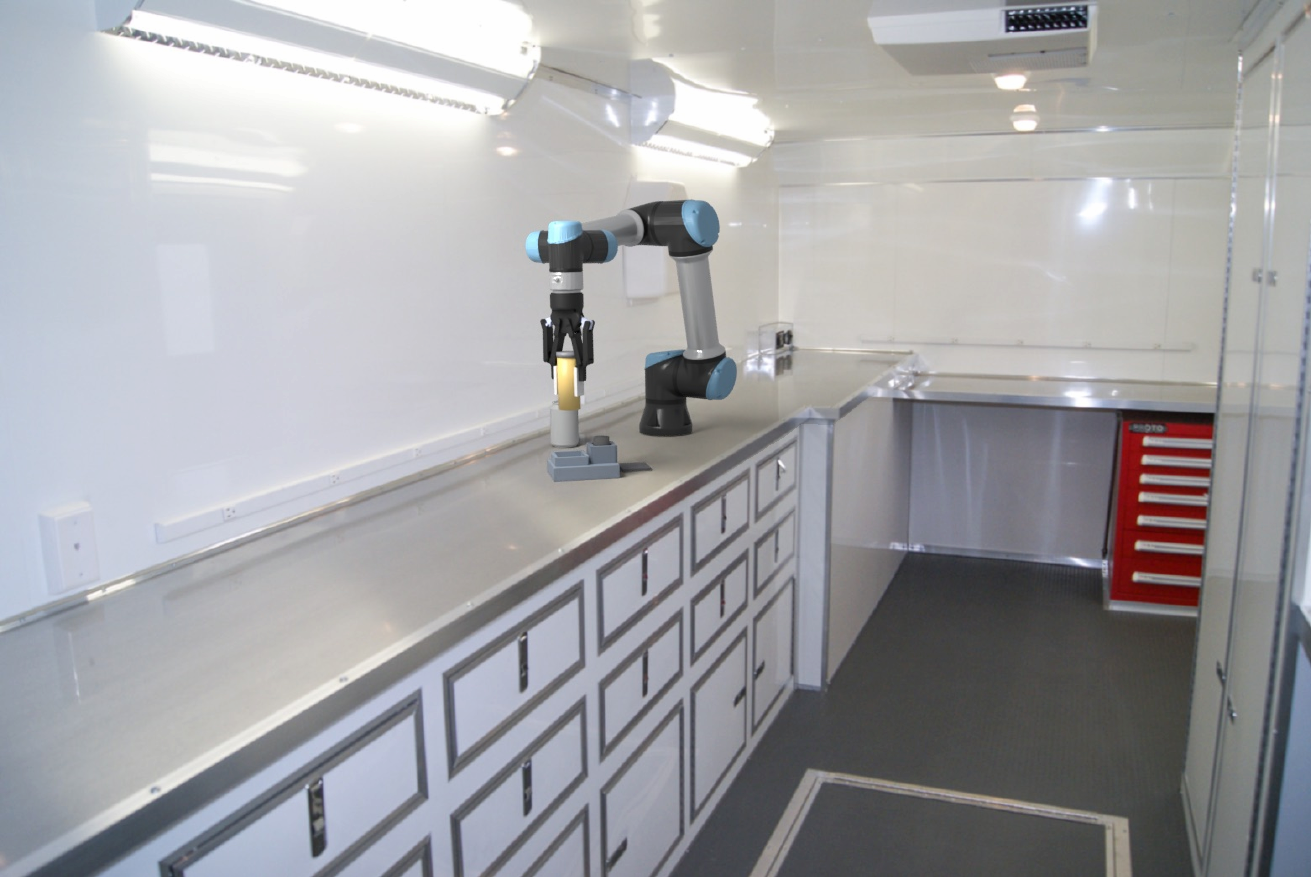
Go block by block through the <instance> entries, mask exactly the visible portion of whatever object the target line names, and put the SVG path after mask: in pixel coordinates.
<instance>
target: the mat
mask: <svg viewBox="0 0 1311 877" xmlns="http://www.w3.org/2000/svg"><path fill="white" fill-rule="evenodd" d="M617 463H618V462H617ZM618 464H619V467H620V471H621V473H623V472H624V473H625V472H626V473H628V472H630V473H631V472H643V471H652V470H653V467H651V465H649V464H648V463H647V462H645V461H640V462H639V461H637V462H622V463H621V462H619V463H618Z"/></svg>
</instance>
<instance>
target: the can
mask: <svg viewBox="0 0 1311 877" xmlns="http://www.w3.org/2000/svg"><path fill="white" fill-rule="evenodd" d="M579 424H580V422H579V410H573V411H564V410H559V408H558V400H554V401H552V404H551V405H550V407H549V426H550V430H549V431H550V444H551V445H552V446H553V447H554V448H558V449H569V448H575V447H577V445H579V444H580V440H579V439H580V438H579V437H580V436H579V434H580V432H579V431H580V430H579V429H580V428H579Z"/></svg>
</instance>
